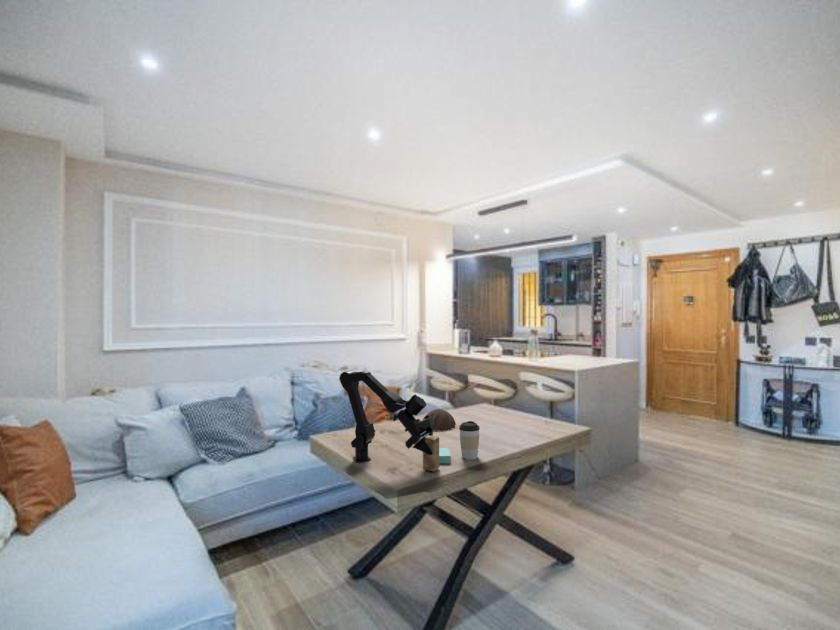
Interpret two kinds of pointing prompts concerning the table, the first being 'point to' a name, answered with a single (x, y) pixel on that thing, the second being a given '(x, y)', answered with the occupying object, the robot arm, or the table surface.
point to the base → (444, 455)
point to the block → (432, 460)
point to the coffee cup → (469, 439)
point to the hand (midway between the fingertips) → (434, 452)
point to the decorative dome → (442, 419)
